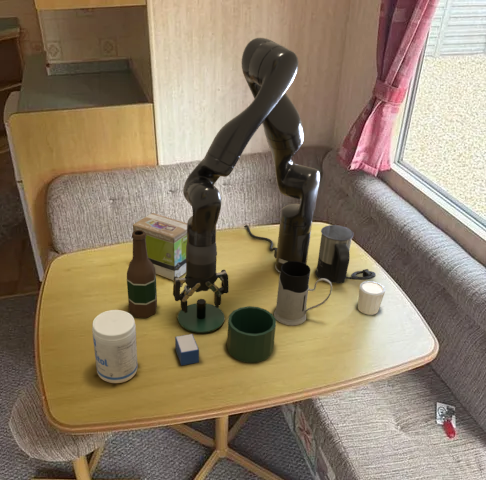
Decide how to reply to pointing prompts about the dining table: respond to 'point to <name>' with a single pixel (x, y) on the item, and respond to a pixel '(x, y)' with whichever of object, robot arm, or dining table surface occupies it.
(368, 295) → the white ribbed cup
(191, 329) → the lid
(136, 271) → the beer bottle
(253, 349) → the pot
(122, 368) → the supplement tub
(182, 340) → the cream cheese
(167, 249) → the tea box
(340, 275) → the milk frother
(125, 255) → the dining table surface
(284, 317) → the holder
